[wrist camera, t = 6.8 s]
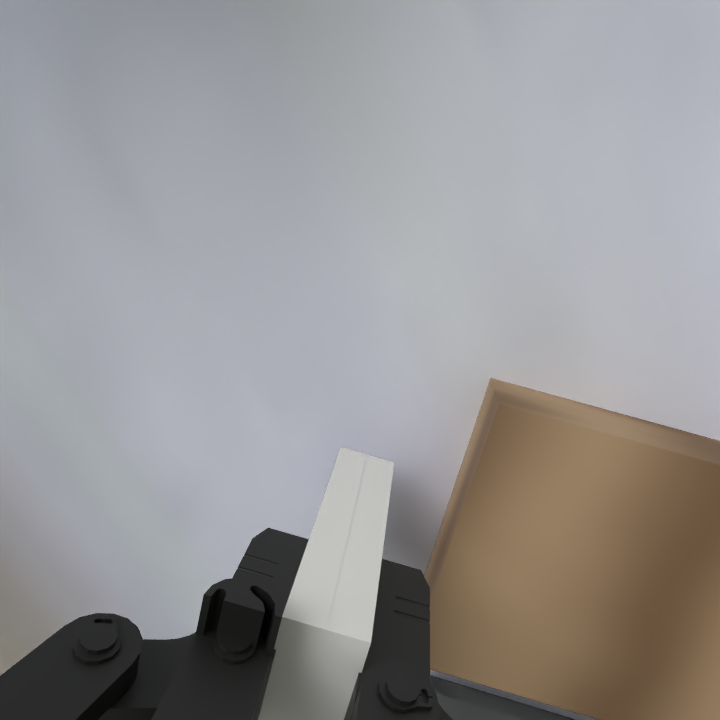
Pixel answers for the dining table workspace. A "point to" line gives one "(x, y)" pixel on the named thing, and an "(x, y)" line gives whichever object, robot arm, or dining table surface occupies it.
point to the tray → (483, 705)
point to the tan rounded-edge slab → (581, 561)
